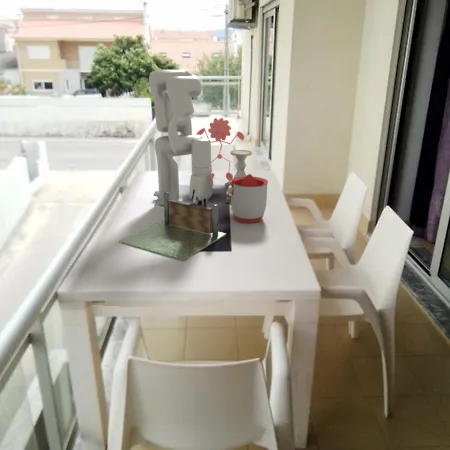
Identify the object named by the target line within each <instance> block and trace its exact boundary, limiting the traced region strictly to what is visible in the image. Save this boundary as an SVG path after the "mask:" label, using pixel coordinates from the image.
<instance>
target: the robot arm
mask: <svg viewBox="0 0 450 450" xmlns="http://www.w3.org/2000/svg"><path fill="white" fill-rule="evenodd" d="M201 83H202V82H201V81H200V78H199V77H198V76H196V75H195V74H194V73H192V72H190V71H189V70H188V69H158V70H157V69H156V70H154V71H152V72H151V73H150V74H149V78H148V84H149V89H150V92H151V95H152V99H153V102H154V115H155V123H156V124H155V125H156V129H157V131H158V132H160V133H164V134H165V133H167V135H162V136H159V137H157V138H156V139H155V141H154V150H155V155H156V162H157V163H156V164H157V176H158V177H157V178H158V180H157V181H158V190H155V191H154V193H153V196H154V197H157V199H156V200H155V203H156V204H157V205H159V206H163V207H164V197H163V192H169V197H170V200H171V199H172V200H177V201H182V202H184V201H183V198H182V197H180V179H179V177H180V176H179V165H178V162H176V160H175V159H174V157H181V156H189V155H191V175H190V181H189V199H190V200H192V204H196V205H201V206H206V207H207V205H208V201H209V199H210V198H211V197H212V195H213V185H212V176H211V174H212V173H211V166H212V141H211V140H210V138H209V139H208V138H207V137H205V136H204V135H203V134H202V135H196V134H193V129H192V128H193V127H192V118H191V117H192V116H193V114H194V112H195V109H194V105H193V101H192V98H198V97H199V96H200V95H201V93H202V84H201Z"/></svg>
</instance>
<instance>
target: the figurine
mask: <svg viewBox="0 0 450 450" xmlns="http://www.w3.org/2000/svg"><path fill="white" fill-rule="evenodd" d="M229 122H230V120H227V119H225V120H224V118H223V117H220V118H219V119H218V118H217V117H214V119H213V122H210V123H209V127H210V128H208V129H207V131H206V128H205V127H203V128H201V129H200V130H198V131H197V133H196V134H195V135H202V136H203V134H204V133H205V135H206V138H207V139H209V140H210V138H211V139H215V140H213V141H211V143H217V142H218V143H220V149H219V153H217V156H216V157H215V158H214V159H212V160H211V163H213V162H214V161H215V160H216V159H218V160H220V159H224V160H226V161H228V162H229V164H228V170H230V167H231V161H230V159H229V160H228V159H227V158H225V157H223V155H222V153H221V151H222V147H223V143H225V144H228V145H231V144H232V143H233V142H234V140H235V139H236V138H238V139H239V140H241V141H244V139H245V135H244V134H243V133H242V132H241V131H238V132H237V133H236V135H235V136H234V137H233V139H232V140H231V141H230V142H227V141H226V139H227V137H231V130H232V127H231V126H230V125H229ZM207 132H208V133H209V134H210V135H209V136H210V138H209V136H208V133H207ZM212 167H213V166H212V165H211V176H212V186H214V179H215V173H214V172H213V168H212ZM233 177H234V176H233V174H232V173H231V172H230V171H227V172H226V174H225V179H227V181H228V185H231V183H230V182H231V180H232V179H233Z"/></svg>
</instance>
